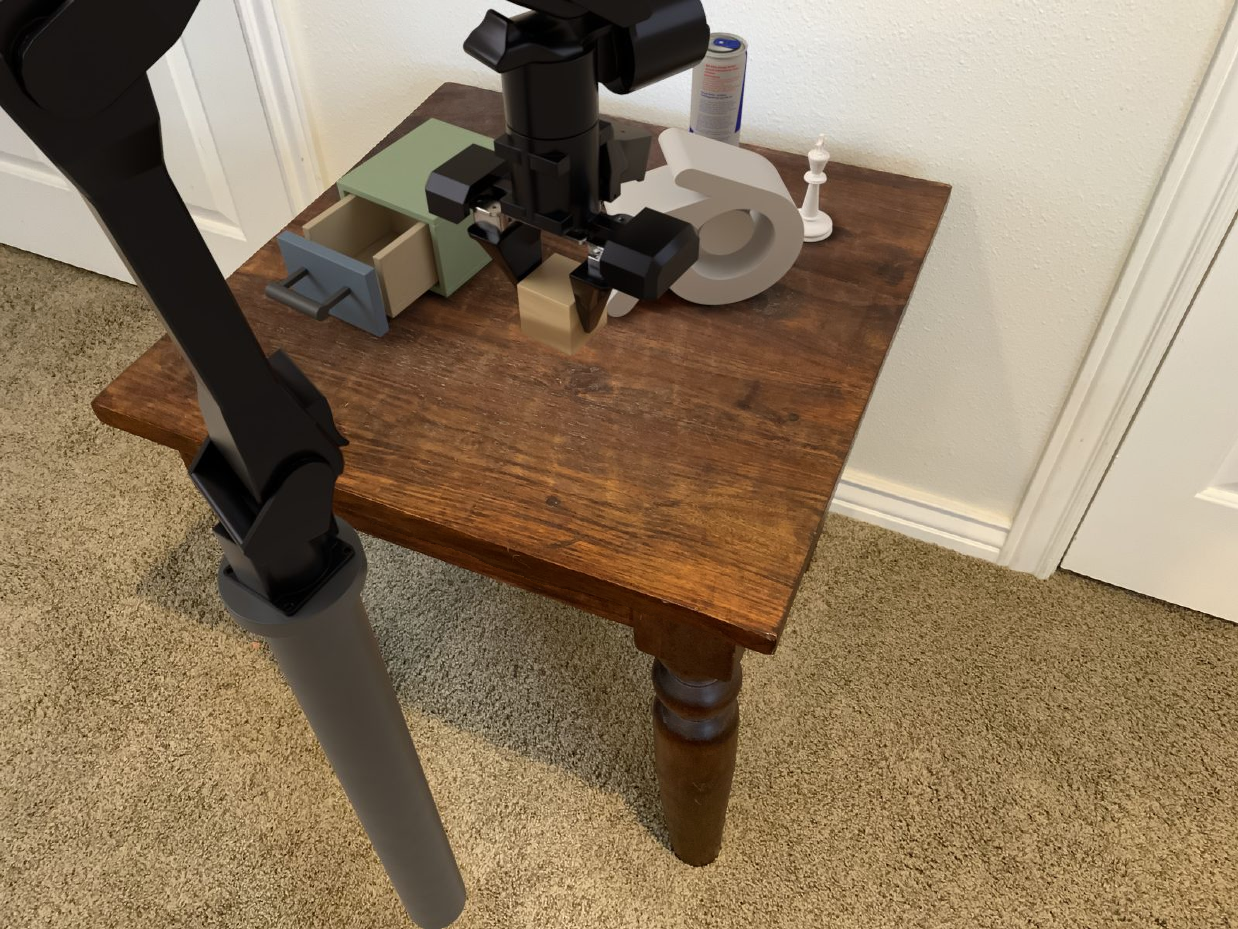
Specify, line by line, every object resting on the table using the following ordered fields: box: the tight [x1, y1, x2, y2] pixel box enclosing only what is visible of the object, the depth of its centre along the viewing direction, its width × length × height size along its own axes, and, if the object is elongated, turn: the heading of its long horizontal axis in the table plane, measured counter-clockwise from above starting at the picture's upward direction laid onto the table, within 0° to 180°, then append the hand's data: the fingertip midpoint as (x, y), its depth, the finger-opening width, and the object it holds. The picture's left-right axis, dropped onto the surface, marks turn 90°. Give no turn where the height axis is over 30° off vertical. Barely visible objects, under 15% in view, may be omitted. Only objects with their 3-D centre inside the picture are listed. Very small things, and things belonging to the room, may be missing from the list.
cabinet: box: [335, 117, 496, 298], centre depth 92 cm, size 13×11×8 cm
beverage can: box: [688, 31, 749, 148], centre depth 96 cm, size 5×5×15 cm
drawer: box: [264, 193, 439, 338], centre depth 86 cm, size 17×10×7 cm, turn 147°
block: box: [517, 252, 608, 357], centre depth 69 cm, size 4×4×4 cm
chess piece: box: [797, 133, 833, 243], centre depth 93 cm, size 5×5×10 cm
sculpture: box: [603, 127, 805, 318], centre depth 85 cm, size 18×6×15 cm, turn 100°
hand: (563, 318), depth 70 cm, fingers closed on block, 4 cm apart
